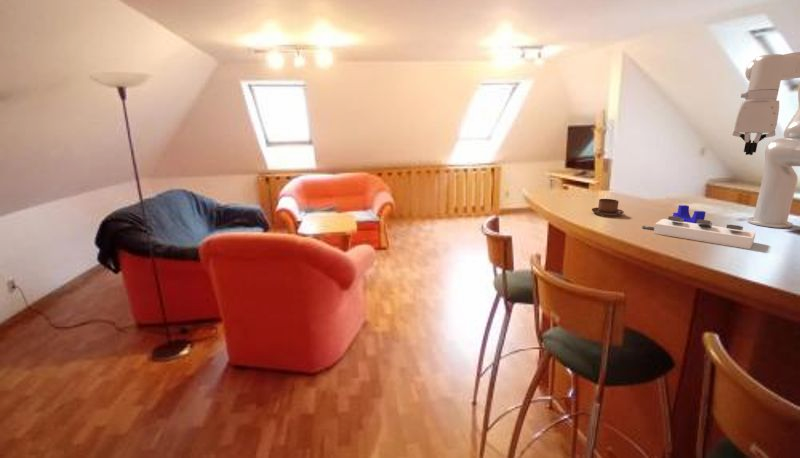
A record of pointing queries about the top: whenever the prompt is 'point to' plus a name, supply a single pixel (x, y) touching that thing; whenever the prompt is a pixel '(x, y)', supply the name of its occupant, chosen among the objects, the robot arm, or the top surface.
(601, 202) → the cup and saucer
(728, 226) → the grey rectangular block
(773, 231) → the top surface
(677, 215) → the cable clip
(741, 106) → the robot arm
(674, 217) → the grey flat block
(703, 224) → the block
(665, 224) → the power strip
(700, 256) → the top surface
